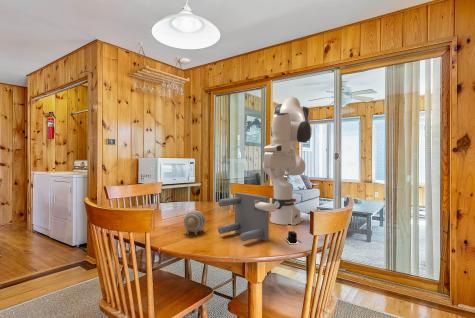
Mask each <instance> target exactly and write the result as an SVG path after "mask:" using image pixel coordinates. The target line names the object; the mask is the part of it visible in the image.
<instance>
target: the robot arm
mask: <svg viewBox="0 0 475 318" xmlns="http://www.w3.org/2000/svg"><path fill="white" fill-rule="evenodd" d="M272 115H273V116H272V122H271V128H270V136H271V143H270V144H268V145H266V146H264V148H263V151H264V154H263V162H262V170H263V172H264V173H265V174H266V175H267V176H269V178H270V180H271V182H272V186H273V188H272V189H273V197H272V204H275V205H276V211H275V212H270V216H269V221H270V223H272V224H277V225H287V226H288V224H291V226H292V225H293V226H294V225H295V226H297V225H298V224H300V223H302V222H304V221H305V218H304V217H301V211H300V209H299V208H298V207H296V205H295V203H297V198H293V186H292V184H291V183H290V182H289V181H287V180H286V179H287V178H288V179H289V178H290V176H291V177H292V176H300V175H303V174H304V172H305V171H306V162H305V160H304V159H303V158H302V157H300V155H299V154H298V152H297V151H298V150H297V143H305V144H306V143H307V142H308V141H310V140H311V137H312V132H313V131H312V126H311V124H310V122H309V120H310V116H311V112H310V109H309V107H306V106H302V105H301V103H300V100H299V99H298V98H297V97H294V96H289V97H287V98H285V100H284V101H283V102H282V103H279V104H277V105H276V106H275V107H274V109H273V112H272ZM303 220H304V221H303ZM301 221H302V222H301ZM296 224H297V225H296Z"/></svg>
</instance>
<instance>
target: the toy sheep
mask: <svg viewBox="0 0 475 318" xmlns="http://www.w3.org/2000/svg"><path fill="white" fill-rule="evenodd" d="M183 225H184V228H185V229H186V235H187V236H189V235H190V233H194V236H197V235H198V232H202V231H203V229H204V227H205V225H206V217H205V215H204V213H202V212H201V211H200V210H192V211H189V212H188V213H187V214H186V215H185V217H184V218H183Z"/></svg>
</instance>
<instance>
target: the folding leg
mask: <svg viewBox="0 0 475 318" xmlns="http://www.w3.org/2000/svg"><path fill="white" fill-rule="evenodd" d="M254 210H256V211H259V210H265V211H269V213H271V212H275V211H276V205H275V204H273V203H272V202H271V203H270V202H269V203H265V202H261V200H254Z"/></svg>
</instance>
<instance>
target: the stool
mask: <svg viewBox="0 0 475 318" xmlns="http://www.w3.org/2000/svg"><path fill="white" fill-rule="evenodd" d="M254 200H261V202H265V203H270V197H269V196H263V195H257V194H252V193H251V194H250V193H245V192H244V193H242V192H235V193H234V197H229V198H221V199H218V206H219V207H221V208H222V207H228V206H234V223H230V224H225V225H220V226H218V228H217V232H218V233H219V234H220V235H223V234H226V233H231V232H235V233H238V234H240V240H241V241H242V242H247V241H249V240H253V239H258V240H261V241H264V242H266V241H269V229H270V228H269V227H270V226H269V225H270V223H269V221H270V211H265V210H259V211H256V210H254Z"/></svg>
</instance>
